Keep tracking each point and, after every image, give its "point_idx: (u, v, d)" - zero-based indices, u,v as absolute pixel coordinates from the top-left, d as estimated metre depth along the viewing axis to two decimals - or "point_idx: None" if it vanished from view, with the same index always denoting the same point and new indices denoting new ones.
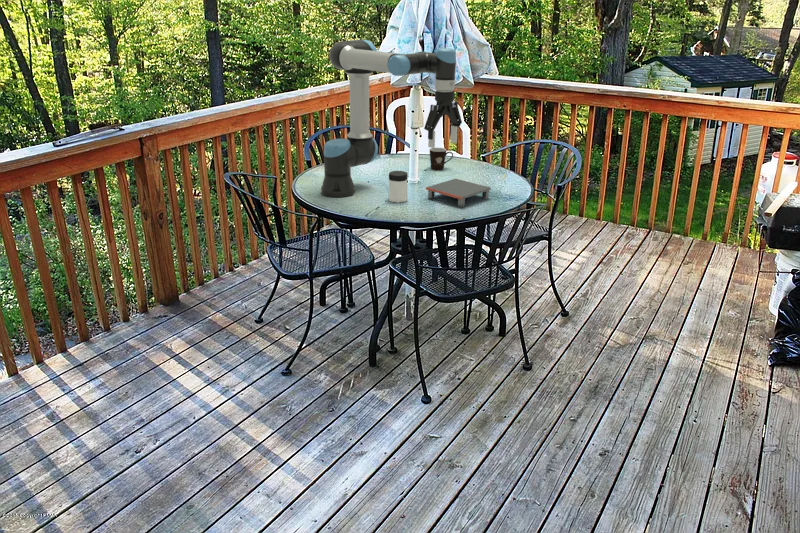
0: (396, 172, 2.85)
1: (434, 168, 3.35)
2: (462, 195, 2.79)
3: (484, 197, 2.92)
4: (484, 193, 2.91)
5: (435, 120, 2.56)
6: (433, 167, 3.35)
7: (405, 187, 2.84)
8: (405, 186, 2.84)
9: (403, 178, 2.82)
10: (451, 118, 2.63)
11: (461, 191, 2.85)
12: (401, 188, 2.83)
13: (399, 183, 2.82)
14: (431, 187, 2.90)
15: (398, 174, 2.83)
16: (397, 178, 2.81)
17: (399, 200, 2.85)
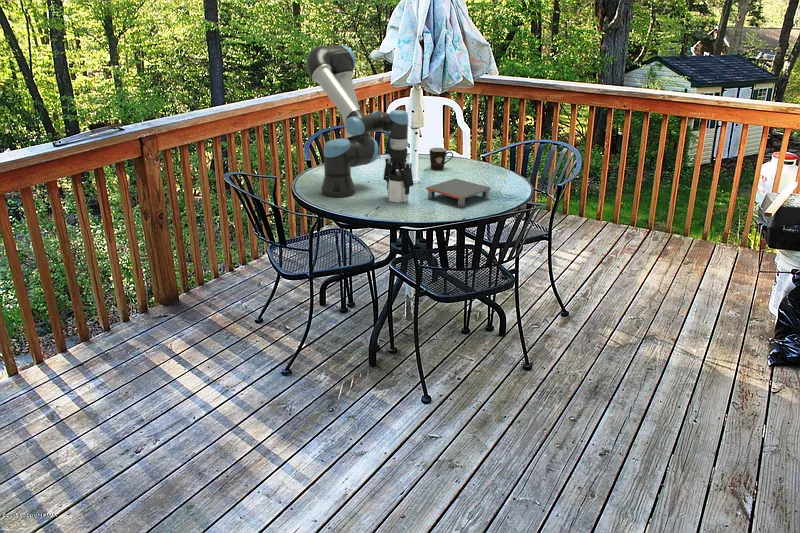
0: (396, 172, 2.85)
1: (434, 168, 3.35)
2: (462, 195, 2.79)
3: (484, 197, 2.92)
4: (484, 193, 2.91)
5: None
6: (433, 167, 3.35)
7: None
8: None
9: (402, 178, 2.82)
10: None
11: (461, 191, 2.85)
12: (400, 188, 2.83)
13: (399, 183, 2.82)
14: (431, 187, 2.90)
15: (398, 174, 2.83)
16: (397, 178, 2.81)
17: (399, 200, 2.85)
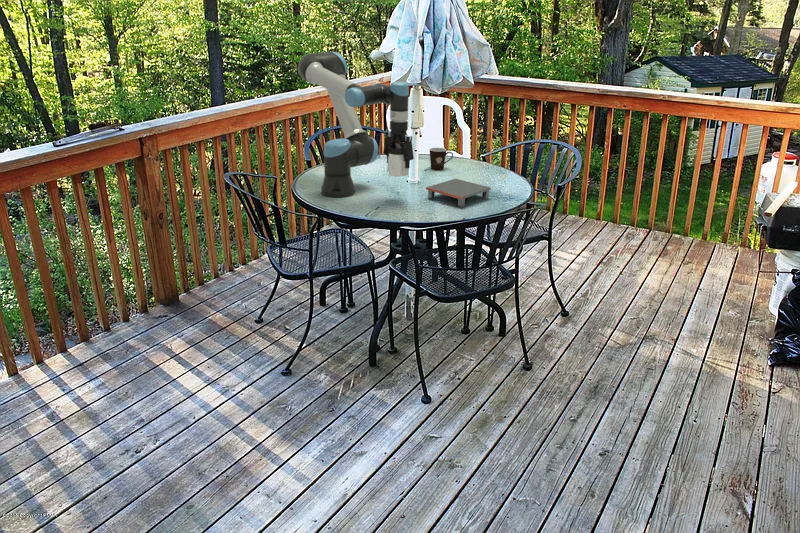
0: (396, 146, 2.81)
1: (434, 168, 3.35)
2: (462, 195, 2.79)
3: (484, 197, 2.92)
4: (484, 193, 2.91)
5: None
6: (433, 167, 3.35)
7: None
8: None
9: None
10: None
11: (461, 191, 2.85)
12: (401, 162, 2.79)
13: (399, 156, 2.77)
14: (431, 187, 2.90)
15: (398, 147, 2.78)
16: (397, 151, 2.77)
17: (399, 174, 2.81)
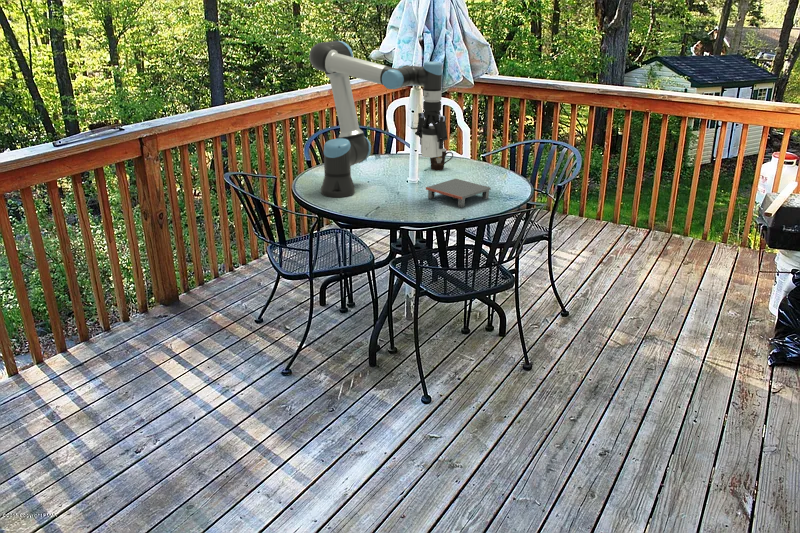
0: (429, 126, 2.79)
1: (434, 168, 3.35)
2: (462, 195, 2.79)
3: (484, 197, 2.92)
4: (484, 193, 2.91)
5: None
6: (433, 167, 3.35)
7: None
8: None
9: (436, 132, 2.75)
10: None
11: (461, 191, 2.85)
12: (434, 143, 2.77)
13: (433, 137, 2.75)
14: (431, 187, 2.90)
15: (432, 128, 2.76)
16: (431, 132, 2.75)
17: (432, 155, 2.78)
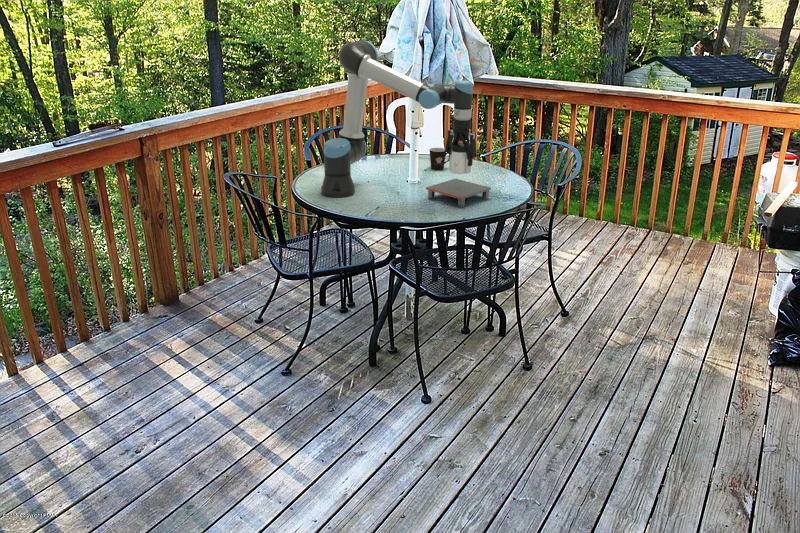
0: (458, 143, 2.84)
1: (434, 168, 3.35)
2: (462, 195, 2.79)
3: (484, 197, 2.92)
4: (484, 193, 2.91)
5: None
6: (433, 167, 3.35)
7: None
8: None
9: None
10: None
11: (461, 191, 2.85)
12: (464, 160, 2.82)
13: (462, 154, 2.80)
14: (431, 187, 2.90)
15: (461, 145, 2.81)
16: (460, 149, 2.80)
17: (462, 172, 2.83)
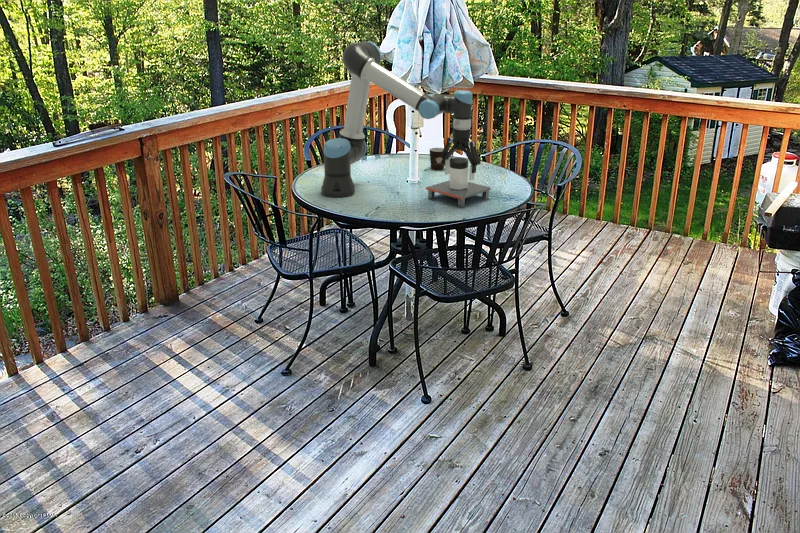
0: (456, 159, 2.86)
1: (434, 168, 3.35)
2: (462, 195, 2.79)
3: (484, 197, 2.92)
4: (484, 193, 2.91)
5: None
6: (433, 167, 3.35)
7: (466, 174, 2.85)
8: (466, 173, 2.85)
9: (464, 166, 2.82)
10: None
11: (461, 191, 2.85)
12: (462, 176, 2.84)
13: (461, 171, 2.83)
14: (431, 187, 2.90)
15: (459, 161, 2.83)
16: (459, 166, 2.82)
17: (460, 187, 2.86)
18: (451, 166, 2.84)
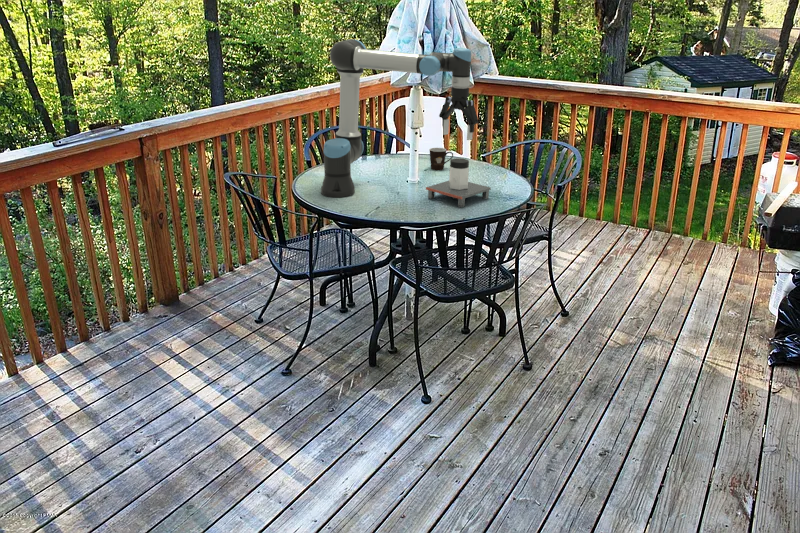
0: (457, 159, 2.87)
1: (434, 168, 3.35)
2: (462, 195, 2.79)
3: (484, 197, 2.92)
4: (484, 193, 2.91)
5: None
6: (433, 167, 3.35)
7: (467, 174, 2.86)
8: (467, 173, 2.85)
9: (465, 165, 2.83)
10: None
11: (461, 191, 2.85)
12: (462, 176, 2.85)
13: (461, 170, 2.83)
14: (431, 187, 2.90)
15: (460, 161, 2.84)
16: (459, 165, 2.83)
17: (460, 187, 2.86)
18: (452, 166, 2.84)
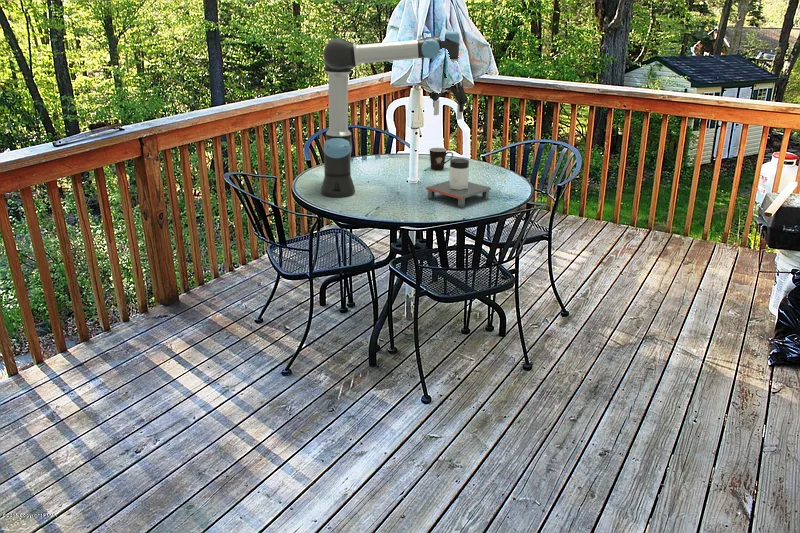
0: (457, 159, 2.87)
1: (434, 168, 3.35)
2: (462, 195, 2.79)
3: (484, 197, 2.92)
4: (484, 193, 2.91)
5: None
6: (433, 167, 3.35)
7: (467, 174, 2.86)
8: (467, 173, 2.85)
9: (465, 165, 2.83)
10: None
11: (461, 191, 2.85)
12: (462, 176, 2.85)
13: (461, 170, 2.83)
14: (431, 187, 2.90)
15: (460, 161, 2.84)
16: (459, 165, 2.83)
17: (460, 187, 2.86)
18: (452, 166, 2.84)
